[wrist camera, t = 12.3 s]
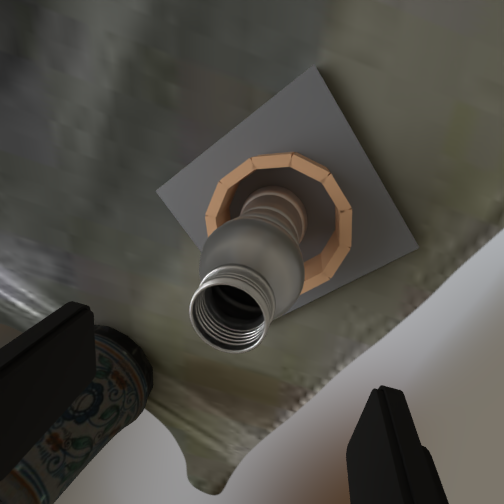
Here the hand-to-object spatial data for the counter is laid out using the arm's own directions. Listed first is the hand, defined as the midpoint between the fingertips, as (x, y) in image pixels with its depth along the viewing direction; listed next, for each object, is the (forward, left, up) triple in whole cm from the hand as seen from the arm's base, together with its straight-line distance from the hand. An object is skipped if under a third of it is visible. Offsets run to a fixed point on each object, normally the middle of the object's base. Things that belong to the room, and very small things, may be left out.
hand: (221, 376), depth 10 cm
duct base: (0, 0, -25) cm, 25 cm away
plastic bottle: (+1, 0, -24) cm, 24 cm away
